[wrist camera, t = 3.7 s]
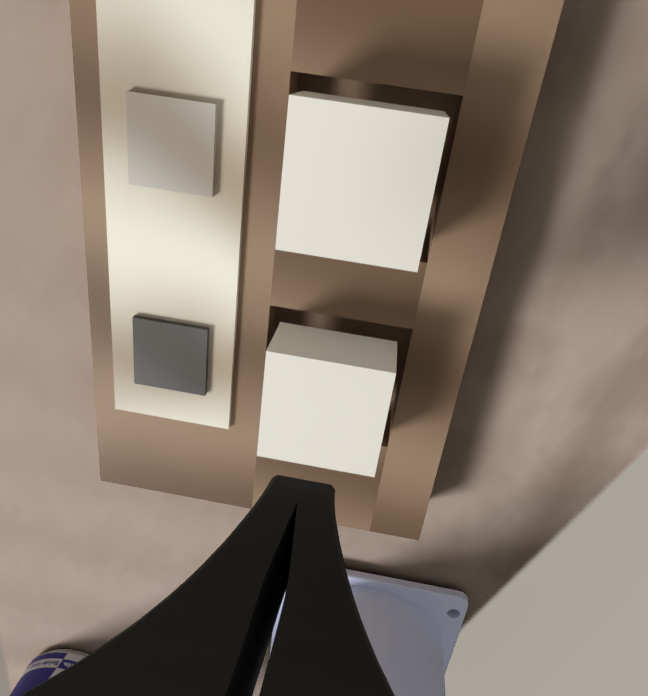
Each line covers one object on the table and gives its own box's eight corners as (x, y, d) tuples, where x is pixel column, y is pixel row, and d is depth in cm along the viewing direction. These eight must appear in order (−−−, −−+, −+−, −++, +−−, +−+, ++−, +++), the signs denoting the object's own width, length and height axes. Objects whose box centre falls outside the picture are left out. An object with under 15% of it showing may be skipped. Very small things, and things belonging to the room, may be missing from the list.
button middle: (416, 248, 16) (417, 272, 14) (289, 228, 16) (275, 249, 15) (444, 111, 14) (449, 118, 13) (303, 90, 15) (288, 94, 13)
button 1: (377, 438, 19) (374, 477, 17) (270, 419, 19) (256, 455, 18) (397, 341, 17) (396, 373, 16) (280, 322, 18) (265, 350, 16)
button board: (417, 502, 23) (418, 548, 21) (123, 448, 24) (95, 487, 21) (666, -458, 11) (725, -577, 9) (85, -507, 12) (16, -629, 10)
